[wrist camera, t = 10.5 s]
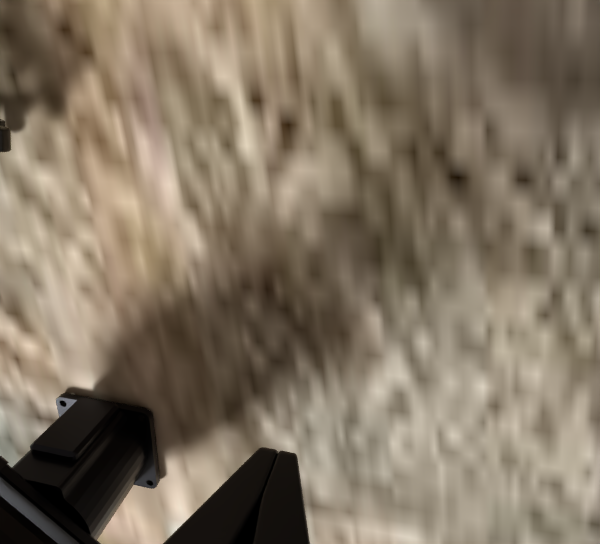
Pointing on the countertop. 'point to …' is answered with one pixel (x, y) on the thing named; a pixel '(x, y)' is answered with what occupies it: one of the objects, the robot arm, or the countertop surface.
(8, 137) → the valve
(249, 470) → the robot arm
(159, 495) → the countertop surface
